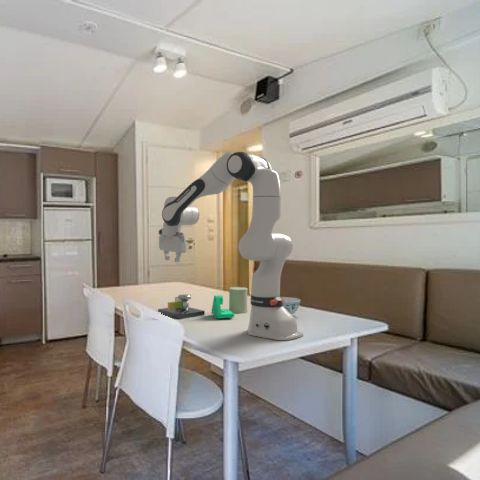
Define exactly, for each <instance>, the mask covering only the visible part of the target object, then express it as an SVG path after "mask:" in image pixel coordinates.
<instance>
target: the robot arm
mask: <svg viewBox="0 0 480 480" xmlns="http://www.w3.org/2000/svg"><path fill="white" fill-rule="evenodd" d="M279 176H280V175H279V174H278V172H277V171H276V170H273V168H272V165H271V163H270V162H269V161H268V160H267V159H266V158H265V157H262V156H261V157H260V156H258V155H256V154H254V153H251V152H250V153H249V152H245V151H237V152H236V151H235V152H232V151H226V152H225V153H224V154H222V155H221V156H220V157H219V158H217V159H216V161H215V162H214V163H212V165H211V166H210V167H209V168H208V170H207V171H206V172H205V173H203V174H202V175H201V176H200V177H198V178H197V179H196V180H194V181H193V182H191V183H190V184H188V186H187V187H186V188H185V189H184V190H183V191H182V192H181V193H180V194H179V195H178V196H170V197H167V198H166V199H165V201H164V205H163V209H162V212H161V217H162V220H163V227H161V228H159V230H158V235H159V236H158V248H159V250H161V251H163V254H164V260H165V261H169V260H170V259H171V258H170V257H171V256H170V254H169V253H170V252H173V253H175V257H174V262H175V263H180V258H181V257H182V254H184V253H186V252H187V239H186V237H185V234H184V232H183V226H193V225H195V224H197V223H198V221H199V219H200V212H199V209H198V207H197V206H196V205H194V204H193V203H194V202H195V201H196V200H198V199H199V198H203V197H206V196H213V195H219V194H221V193H222V192H224V191H225V190H226V189H228V187H230V186H231V185H232V183H233V181H235V180H236V179H237V180H240V181H243V182H246V183H247V182H248V183H250V184H251V186H252V210H251V221H250V222H249V226H248V228H247V231H246V232H245V233H244V235H243V236H241V238H240V239H239V242H238V251H239V254H240V256H241V257H242V258H243V259H245V260H249V261H253V262H259V265H258V268H257V269H256V271H254V272H253V274H252V276H251V295H250V305H251V310H250V314H249V315H250V316H249V323H248V326H247V327H248V328H247V330H246V331H247V335H248V336H254V337H259V338H264V339H270V340H275V341H291V340H295V339H298V338H301V337H303V336H304V332H303V331H301V330H298V323H297V319H296V318H295V317H294V315H293V314H290V313H289V312H288V311H287V310H286V309H285V307H284V306H283V302H285V301H283V300H285V299H282V298H281V297H282V296H281V295H280V294H281V276H282V272H283V271H282V270H283V268H284V265H285V262H286V261H287V258H288V257H289V256H290V255H291V253H292V251H293V242H292V239H291V237H289V236H288V235H286V234H283V233H280V232H273V229H274V227H275V224H276V223H277V221H279V220H280V218H281V215H282V214H281V212H282V211H281V208H282V207H281V205H282V203H281V202H282V194H281V193H282V191H281V190H282V189H281V183H280V177H279Z"/></svg>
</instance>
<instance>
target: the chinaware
mask: <svg viewBox="0 0 480 480" xmlns="http://www.w3.org/2000/svg"><path fill="white" fill-rule="evenodd" d="M281 298H282V299H285V300H283V301H285V302H283V306H284V307H285V309H286V310H287V311H288V312H289V313H290V314H291V315H293V314H295V312H297V311H298V309H299V307H300V304H301V299H299V298H297V297H290V296H289V297H288V296H287V297H286V296H281Z"/></svg>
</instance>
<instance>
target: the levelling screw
mask: <svg viewBox="0 0 480 480" xmlns="http://www.w3.org/2000/svg"><path fill="white" fill-rule="evenodd" d="M178 296H179V299H181V301H176V302H175V301H170V302H167V308H168V309H169V310H171V309H178V308H181V311H188V310H189V307H190V300H191V299H192V295H191V294H186V293H185V294H179V295H178Z"/></svg>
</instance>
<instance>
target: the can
mask: <svg viewBox="0 0 480 480" xmlns="http://www.w3.org/2000/svg"><path fill="white" fill-rule="evenodd" d="M228 290H229V291H228V293H229V298H228V299H229V301H228V302H229V303H228V306H229V307H228V310H229V311H231V312H233V313H234V314H245V313H248V288H247V287H243V286H236V287H235V286H233V287H229V288H228Z"/></svg>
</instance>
